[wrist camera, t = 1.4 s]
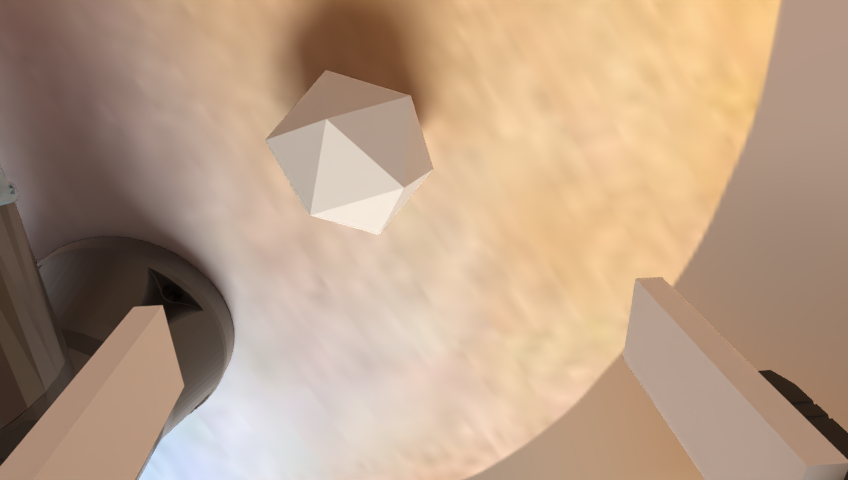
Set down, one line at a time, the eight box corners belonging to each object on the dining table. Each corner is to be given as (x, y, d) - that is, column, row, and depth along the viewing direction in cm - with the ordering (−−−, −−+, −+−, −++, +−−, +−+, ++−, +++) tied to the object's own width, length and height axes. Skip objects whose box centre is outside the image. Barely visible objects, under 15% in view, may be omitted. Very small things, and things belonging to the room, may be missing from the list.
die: (307, 45, 33) (208, 147, 27) (436, 40, 29) (351, 158, 23) (354, 153, 39) (280, 254, 33) (466, 161, 35) (404, 278, 29)
